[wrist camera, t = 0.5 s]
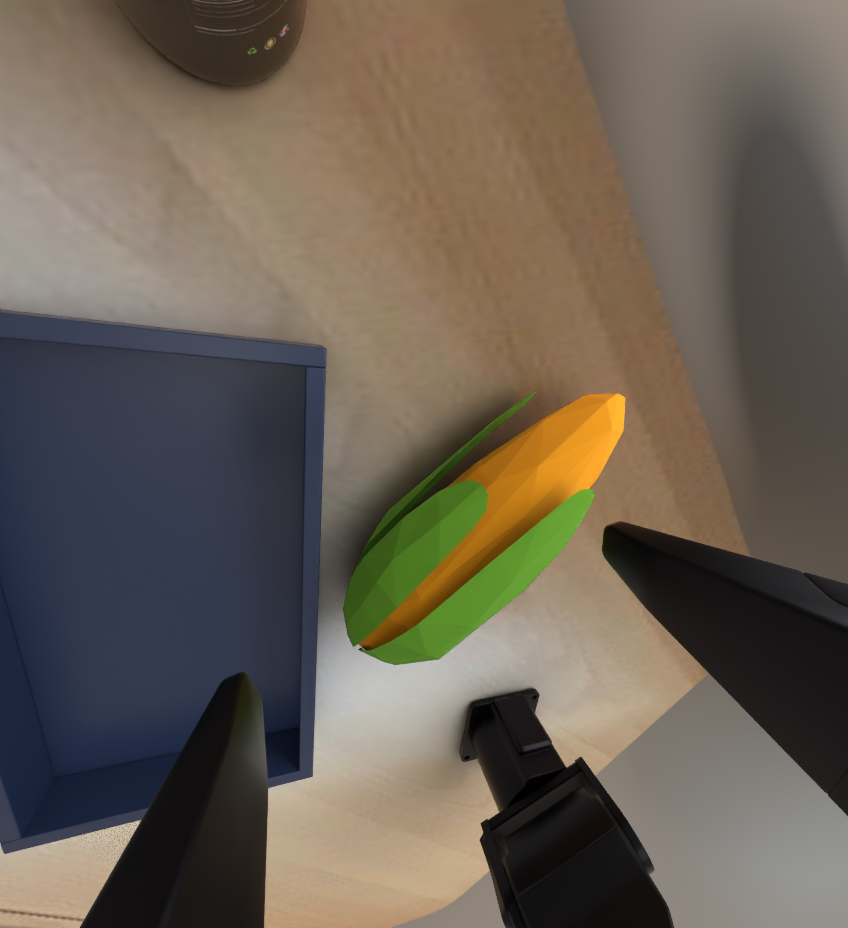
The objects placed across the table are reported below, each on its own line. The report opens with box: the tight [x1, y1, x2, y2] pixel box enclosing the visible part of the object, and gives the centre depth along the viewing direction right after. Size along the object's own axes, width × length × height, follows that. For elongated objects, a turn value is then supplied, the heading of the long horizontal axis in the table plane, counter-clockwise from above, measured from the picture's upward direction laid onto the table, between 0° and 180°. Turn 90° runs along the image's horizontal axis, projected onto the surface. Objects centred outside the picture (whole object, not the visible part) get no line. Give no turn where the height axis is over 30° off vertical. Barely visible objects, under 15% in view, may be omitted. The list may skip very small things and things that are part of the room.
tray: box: [0, 309, 326, 854], centre depth 18 cm, size 26×15×3 cm, turn 173°
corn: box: [343, 391, 625, 665], centre depth 20 cm, size 7×8×20 cm
